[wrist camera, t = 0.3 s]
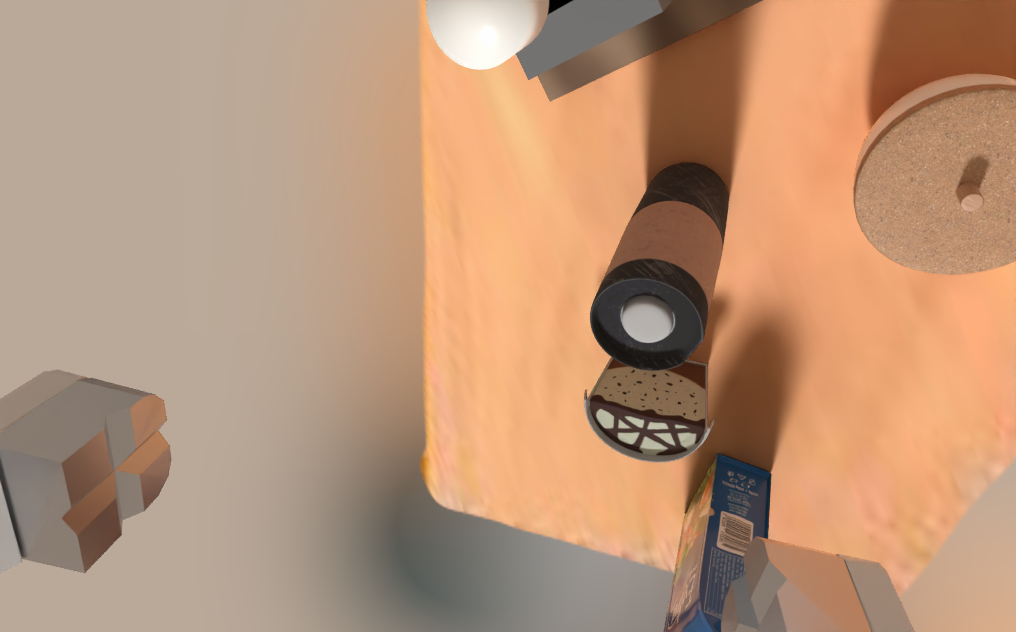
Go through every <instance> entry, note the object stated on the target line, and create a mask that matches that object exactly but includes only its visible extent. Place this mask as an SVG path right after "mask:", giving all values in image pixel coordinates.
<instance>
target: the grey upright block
mask: <svg viewBox="0 0 1016 632" xmlns="http://www.w3.org/2000/svg"><path fill="white" fill-rule="evenodd" d="M672 1H673V0H549V8H548V14H547V18H546V21H545V24H544V26H543V28H542V30H541V32H540V33H539V35H538V36H537V37H536V38H535V39H534V40H533V41H532V42H531V43H530V44H529V45H527V46H526V47H524V48H523V49H521V50H520V51H519V52H517V53H516V55H517V57H518V59H519V61H520V63H521V65H522V67H523V69H524V72H525V74H526V76H527V78H528V80H530V79H532V78H534V77H536V76H538V75H540V74H542V73H544V72H545V71H547V70H549V69H551V68H553V67H555V66H557V65H559V64H561V63H563V62H565V61H567V60H569V59H571V58H573V57H575V56H577V55H579V54H581V53H583V52H585V51H587V50H589V49H591V48H593V47H595V46H597V45H599V44H601V43H603V42H604V41H606V40H608V39H610V38H612V37H614V36H616V35H618V34H620V33H622V32H624V31H626V30H628V29H630V28H632V27H634V26H636V25H638V24H640V23H642V22H644V21H646V20H648V19H650V18H652V17H654V16H656V15H658V14H660V13H662V12H663V11H664V10H665V9H666V8H667V6H668V5H669V4H670V3H671V2H672Z"/></svg>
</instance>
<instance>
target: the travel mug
mask: <svg viewBox="0 0 1016 632" xmlns="http://www.w3.org/2000/svg"><path fill="white" fill-rule="evenodd" d="M727 214H728V192H727V189H726V187H725V184H724V183H723V181H722V180H721V178H720V177H719V176H718V175H717V174H716V173H715V172H714V171H712V170H711V169H709V168H707V167H705V166H702V165H699V164H695V163H680V164H676V165H672V166H670V167H668V168H666V169H664V170H663V171H661V172H660V173H659V174H658V175H657V176H656V177H655V178H654V179H653V181H652V182H651V183H650V185H649V187H648V189H647V190H646V192H645V194H644V196H643V198H642V199H641V201H640V203H639V205H638V207H637V209H636V210H635V212H634V214H633V216H632V218H631V220H630V221H629V223H628V225H627V227H626V229H625V231H624V234H623V236H622V238H621V240H620V243H619V245H618V247H617V249H616V252H615V254H614V256H613V258H612V261H611V263H610V265H609V267H608V270H607V272H606V274H605V276H604V279H603V281H602V283H601V285H600V288H599V290H598V292H597V294H596V296H595V299H594V301H593V304H592V307H591V312H590V323H591V328H592V332H593V334H594V336H595V338H596V340H597V342H598V343H599V345H600V346H601V347H602V349H603V350H604V351H605V352H606V353H607V354H609V355H610V356H611V357H612V358H614V359H615V360H617V361H619V362H620V363H622V364H624V365H627V366H629V367H632V368H636V369H640V370H646V371H661V370H668V369H672V368H675V367H678V366H680V365H682V364H683V363H684V362H685V361H686V360H687V358H688V357H689V356H690V355H691V354H692V353H693V352H694V351H695V350H696V348H697V347H698V346H699V345H700V343H701V342H703V340H704V334H705V328H706V323H707V319H708V314H709V310H710V306H711V301H712V297H713V292H714V288H715V283H716V279H717V274H718V270H719V265H720V261H721V256H722V250H723V244H724V236H725V229H726V221H727Z"/></svg>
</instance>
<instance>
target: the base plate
mask: <svg viewBox="0 0 1016 632" xmlns="http://www.w3.org/2000/svg"><path fill="white" fill-rule="evenodd" d="M760 1H762V0H673V1H672V2H671V3H670V4H669V5H668V6H667V8H666V9H665V10H664V11H663V12H662V13H660V14H658V15H656V16H654V17H652V18H650V19H648V20H646V21H644V22H642V23H640V24H638V25H636V26H634V27H632V28H630V29H628V30H626V31H624V32H622V33H620V34H618V35H616V36H614V37H612V38H610V39H608V40H606V41H604V42H603V43H601V44H599V45H597V46H595V47H593V48H591V49H589V50H587V51H585V52H583V53H581V54H579V55H577V56H575V57H573V58H571V59H569V60H567V61H565V62H563V63H561V64H559V65H557V66H555V67H553V68H551V69H549V70H547V71H545V72H544V73H542V74H540V75H538V78H539V80H540V82H541V84H542V86H543V88H544V90H545V92H546V95H547V97H548V99H549V101H552V100H554V99H557V98H559V97H561V96H563V95H565V94H567V93H569V92H571V91H573V90H575V89H578V88H580V87H582V86H584V85H586V84H588V83H590V82H592V81H594V80H596V79H598V78H601V77H603V76H605V75H607V74H609V73H611V72H613V71H615V70H617V69H619V68H622V67H624V66H626V65H628V64H630V63H632V62H634V61H636V60H638V59H640V58H643V57H645V56H647V55H649V54H651V53H653V52H655V51H657V50H659V49H661V48H663V47H666V46H668V45H670V44H672V43H674V42H676V41H678V40H680V39H682V38H684V37H687V36H689V35H691V34H693V33H695V32H697V31H699V30H701V29H703V28H705V27H708V26H710V25H712V24H714V23H716V22H718V21H720V20H722V19H724V18H726V17H728V16H731V15H733V14H735V13H737V12H739V11H741V10H743V9H745V8H747V7H749V6H752V5H754V4H756V3H758V2H760Z"/></svg>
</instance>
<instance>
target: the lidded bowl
mask: <svg viewBox="0 0 1016 632" xmlns="http://www.w3.org/2000/svg"><path fill="white" fill-rule="evenodd" d="M854 207H855V212H856V217H857V221H858V223H859V225H860V228H861V230H862V232H863V233H864V235H865V236H866V238H867V239H868V241H869V242H870V243H871V244H872V245H873V246H874V247H875V248H876V249H877V250H878V251H879V252H880V253H882V254H883V255H885V256H886V257H887V258H889V259H890V260H892V261H894V262H896V263H898V264H900V265H902V266H905V267H908V268H911V269H914V270H917V271H922V272H927V273H933V274H947V275H953V274H969V273H975V272H982V271H987V270H990V269H994V268H998V267H1001V266H1004V265H1007V264H1009V263H1012V262H1014V261H1016V79H1012V78H1009V77H1005V76H999V75H991V74H962V75H956V76H950V77H946V78H942V79H939V80H936V81H932V82H930V83H928V84H925V85H923V86H921V87H918V88H916V89H915V90H913V91H911V92H910V93H908V94H906V95H904V96H903V97H902V98H900V99H899V100H898V101H896V102H895V103H894V104H892V105H891V106H890V107H889V108H888V109H887V110H886V111H885V112H884V113H883V114H882V115H881V116H880V117H879V119H878V120H877V121H876V122H875V124H874V125H873V126H872V128H871V129H870V131H869V133H868V135H867V136H866V138H865V140H864V142H863V144H862V146H861V149H860V152H859V155H858V158H857V163H856V168H855V174H854Z"/></svg>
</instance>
